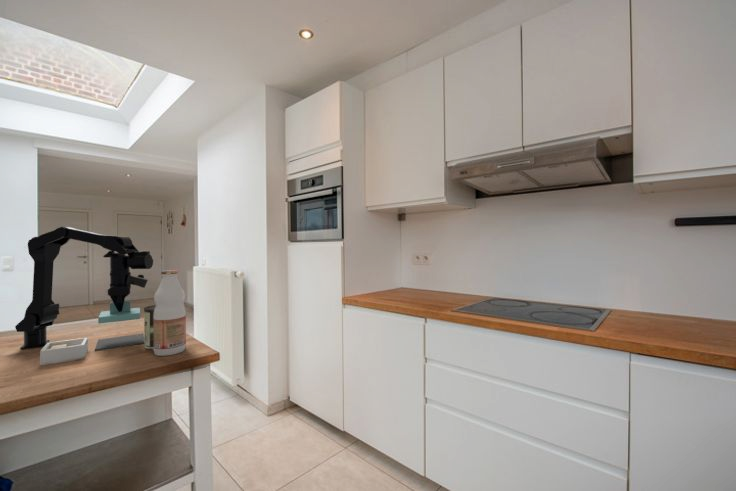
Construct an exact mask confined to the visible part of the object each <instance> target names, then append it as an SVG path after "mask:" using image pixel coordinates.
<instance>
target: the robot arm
mask: <svg viewBox="0 0 736 491" xmlns="http://www.w3.org/2000/svg"><path fill="white" fill-rule="evenodd" d="M70 240H74V241H79V242H83V243H84V242H85V243H87V244H88V243H89V244H94V245H98V246H100V247H102V248H103V249H106V250H108V252H107V253H106V254H104V255H103V257H102V258H109V262H110V263H109V272H110V273H109V276H110V278H109V279H110V281H109V288H107V296H109V297H110V299H111V302H113V303H114V305H115V306H116V308H117V310H118V312H121V311H122V309H123V305H124V301H126V300H125V299H126V297H128V296H129V295H131V289H132V285H133V286H136V287H140V288H146V285H147V283H148V281H149V280H148V278H146V277H145V276H144V274H140V273H139V274H138V275H133V274H131V271H130V269H131V270H150V269H152V268H153V265H154V259H153V256H152V255H151V252H150V251H148V250H147V251H145V250H143V251H139V250H138V248H137V247H136V246H135V245H134V244H133V241H132V239H131V238H130V237H129V236H127V235H125V236H124V235H108V234H107V235H106V234H101V233H96V232H92V231H89V230H88V231H87V230H84V229H83V230H82V229H78V228H75V227H72V226H60V227H57V228H56V229H54V230H51V231H48V232H45V233H43V234H39V236H34V237H32V238H31V239H29V240H28V242H27V249H28V255H30V257H31V259H32V260H33V280H32V281H33V282H32V299H31V301H30V303H29V305H27V307H26V310H25V312H24V313H25V314H24V318H22V320H21V321H19V322H18V323H17V324H16V325H15V326H14V327H15V330H16V332H17V333H19V332H21V333H23V344H22V346H20V350H24V349H30V348H37V347H44V346H45V345H46V344H47V343H49V342H51V341H50V340H48V339H47V338H48V337H47V327H50V326H53V324H54V322H55V320H56V319H57V318H58V315H60V310H59V308H60V303H55V302H54V301H53V281H54V280H53V278H54V277H53V276H54V262H55V259H56V258H58V256H59V254H60V251H61V248H62V247H63V246H64V245H66V244H68V242H69V241H70Z"/></svg>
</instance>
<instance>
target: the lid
mask: <svg viewBox="0 0 736 491" xmlns="http://www.w3.org/2000/svg"><path fill="white" fill-rule="evenodd" d="M140 319H141V308H140V307H133V308H131V300H130V299H129V300H124V305H123V309H122V311H121V312H118V310H117V308H116V306H115V305H114V303H113V301H110V302H109V310H105V311H104V310H101V311H100V313H99V316H98V319H97V320H98V321H97V322H98V324H106V323H116V322H124V321H132V320H133V321H134V320H140Z"/></svg>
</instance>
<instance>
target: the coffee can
mask: <svg viewBox="0 0 736 491" xmlns="http://www.w3.org/2000/svg"><path fill="white" fill-rule="evenodd" d="M155 307H156V305H155V304H154V305H148V306H146V307H143V311H144V313H143V316H144V318H143V320H144V324H143V325H144V326H143V327H144V328H143V329H144V331H143V334H144V345H143V346H144V349H147V350H154V319H153V316H154V309H155Z"/></svg>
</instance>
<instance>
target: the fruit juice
mask: <svg viewBox="0 0 736 491" xmlns="http://www.w3.org/2000/svg"><path fill="white" fill-rule="evenodd" d="M160 274H161V281H160V284H159V286H158V288H157V290H156V291H155V292H154V295H153V302H154V305H156V307H155V309H154V316H153V319H154V349H153V354H154V355H155V356H158V357H167V356H173V355H178V354H180V353H182V352H184V351H185V350H186V347H187V342H186V341H187V334H186V333H187V332H186V331H187V314H186V313H187V312H186V311H187V310H186V307H185V305H184V304H185V303H184V302H185V299H186V292H185V290H184V289H183V288H182V287H181V286H182V285H181V283H180V281H179V279H178V275H179V271H178V270H177V269H169V270H168V269H166V270H161V272H160Z"/></svg>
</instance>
